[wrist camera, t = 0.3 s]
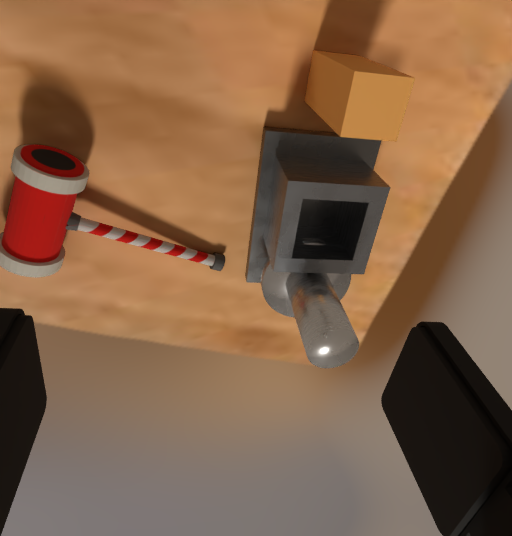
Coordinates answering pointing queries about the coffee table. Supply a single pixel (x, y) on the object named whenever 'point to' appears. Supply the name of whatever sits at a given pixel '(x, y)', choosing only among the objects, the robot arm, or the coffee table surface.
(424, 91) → the coffee table surface
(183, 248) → the toy hammer
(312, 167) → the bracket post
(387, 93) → the orange rectangular block
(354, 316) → the coffee table surface
